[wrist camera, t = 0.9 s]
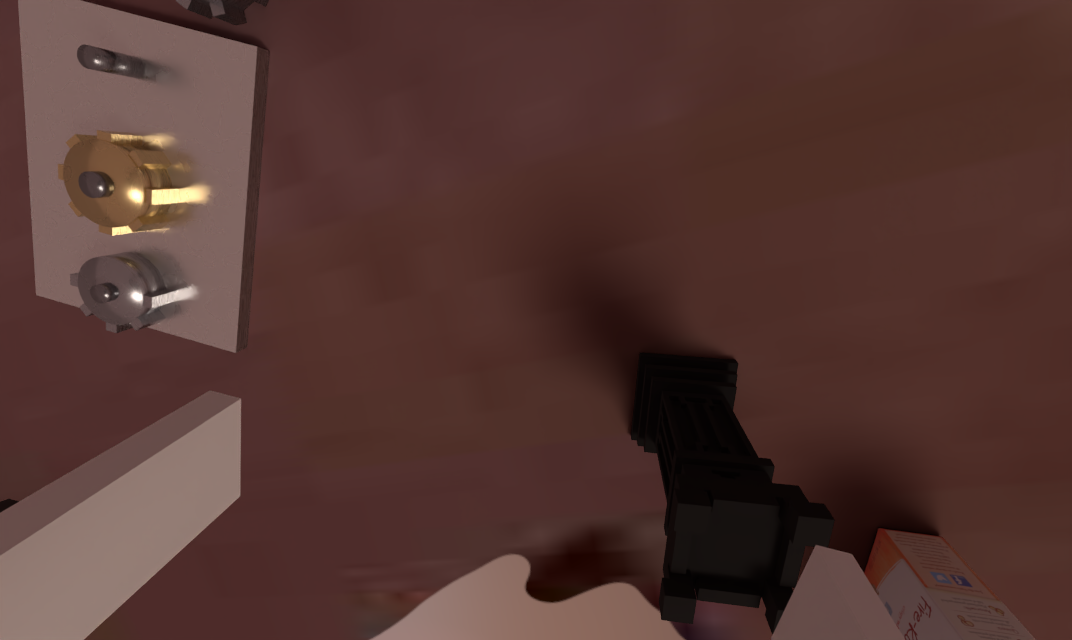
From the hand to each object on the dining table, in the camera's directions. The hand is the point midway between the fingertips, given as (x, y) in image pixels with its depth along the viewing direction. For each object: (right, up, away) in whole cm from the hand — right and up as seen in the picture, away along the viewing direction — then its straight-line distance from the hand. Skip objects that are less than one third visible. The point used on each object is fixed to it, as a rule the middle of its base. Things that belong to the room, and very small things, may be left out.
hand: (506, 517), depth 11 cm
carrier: (-33, +17, +33) cm, 50 cm away
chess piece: (+13, -2, +33) cm, 36 cm away
